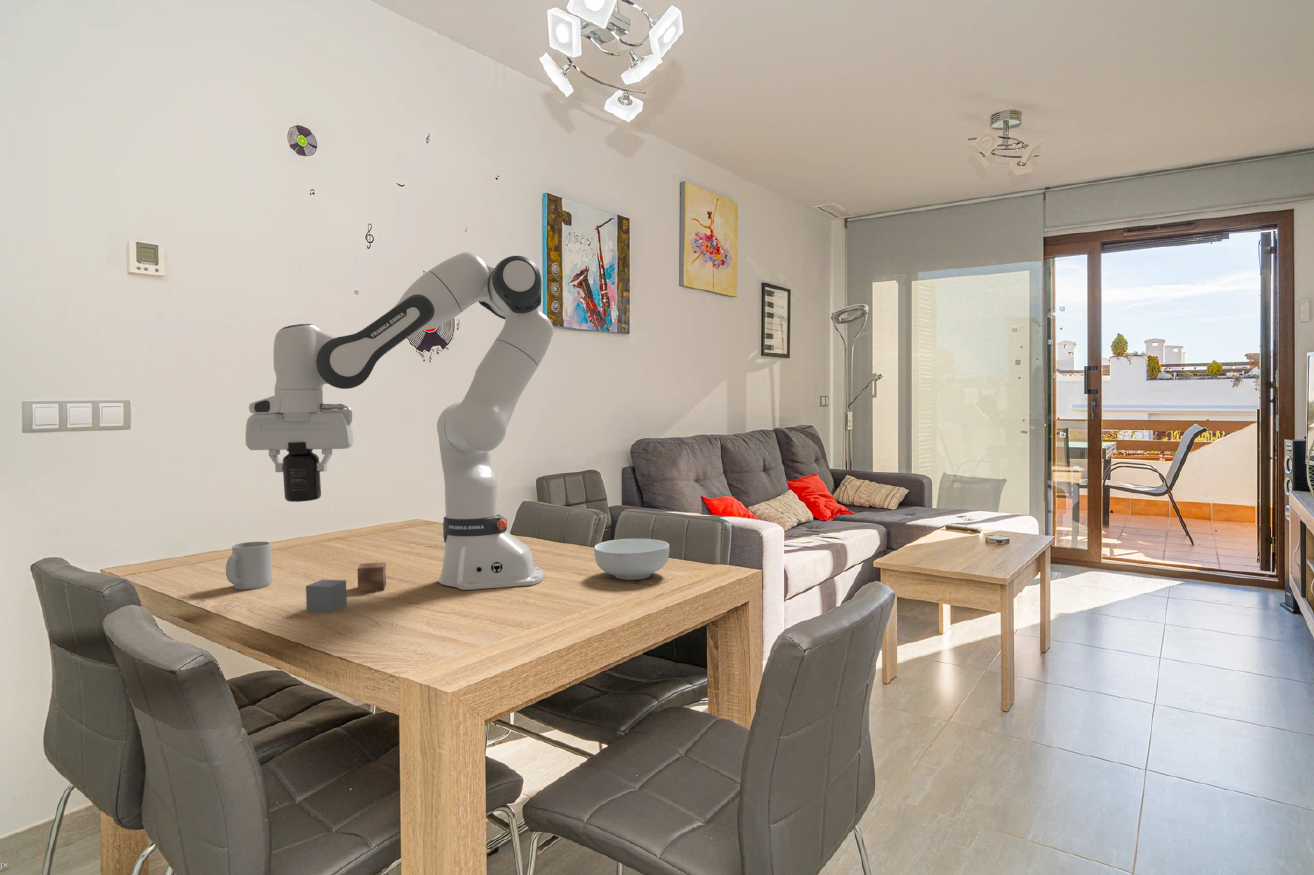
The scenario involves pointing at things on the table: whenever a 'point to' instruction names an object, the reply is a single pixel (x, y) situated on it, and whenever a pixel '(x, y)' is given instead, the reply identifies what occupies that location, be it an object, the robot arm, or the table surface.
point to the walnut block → (371, 577)
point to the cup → (250, 565)
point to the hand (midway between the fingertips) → (301, 471)
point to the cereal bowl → (631, 557)
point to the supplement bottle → (301, 473)
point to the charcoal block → (326, 596)
